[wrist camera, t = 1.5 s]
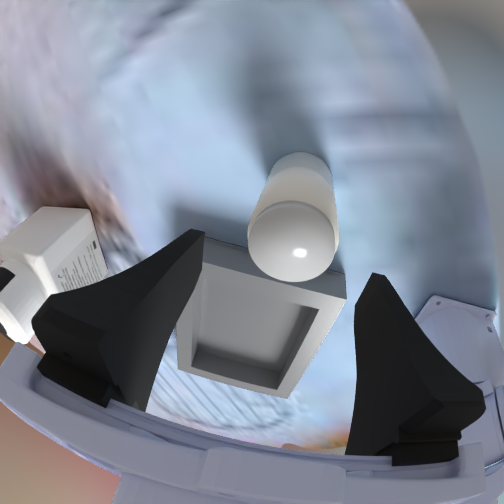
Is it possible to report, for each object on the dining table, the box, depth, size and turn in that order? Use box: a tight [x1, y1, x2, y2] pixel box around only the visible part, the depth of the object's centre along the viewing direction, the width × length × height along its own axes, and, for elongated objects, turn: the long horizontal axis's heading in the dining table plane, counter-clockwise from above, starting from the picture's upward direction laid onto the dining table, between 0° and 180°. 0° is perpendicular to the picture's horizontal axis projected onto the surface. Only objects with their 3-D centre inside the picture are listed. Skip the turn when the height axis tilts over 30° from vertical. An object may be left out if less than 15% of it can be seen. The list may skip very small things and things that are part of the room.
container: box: [0, 206, 108, 344], centre depth 23 cm, size 8×8×13 cm
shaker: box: [247, 152, 339, 282], centre depth 17 cm, size 4×4×8 cm
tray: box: [176, 237, 347, 399], centre depth 28 cm, size 13×17×3 cm
